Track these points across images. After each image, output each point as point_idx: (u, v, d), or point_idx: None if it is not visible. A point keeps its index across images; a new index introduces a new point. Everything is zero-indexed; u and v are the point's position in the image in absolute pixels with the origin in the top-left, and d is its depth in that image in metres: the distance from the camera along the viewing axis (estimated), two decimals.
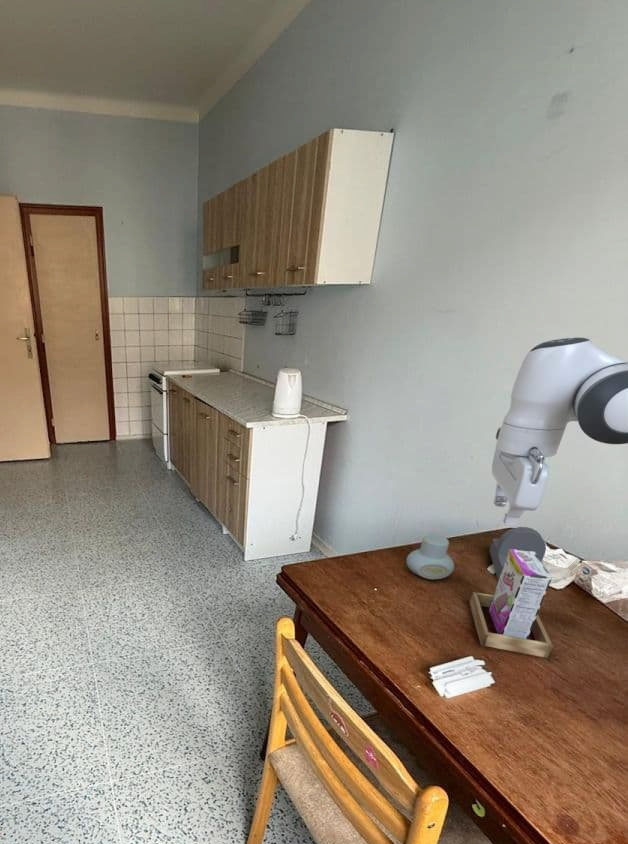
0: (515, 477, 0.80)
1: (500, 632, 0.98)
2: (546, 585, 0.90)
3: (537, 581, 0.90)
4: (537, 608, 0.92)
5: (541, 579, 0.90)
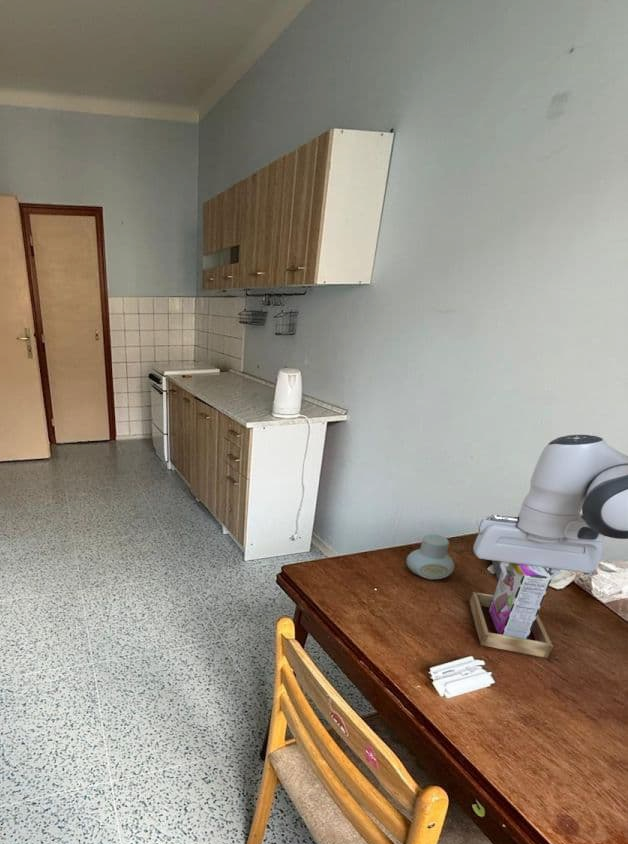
0: None
1: (500, 632, 0.98)
2: (546, 585, 0.90)
3: (537, 581, 0.90)
4: (537, 608, 0.92)
5: (542, 579, 0.90)
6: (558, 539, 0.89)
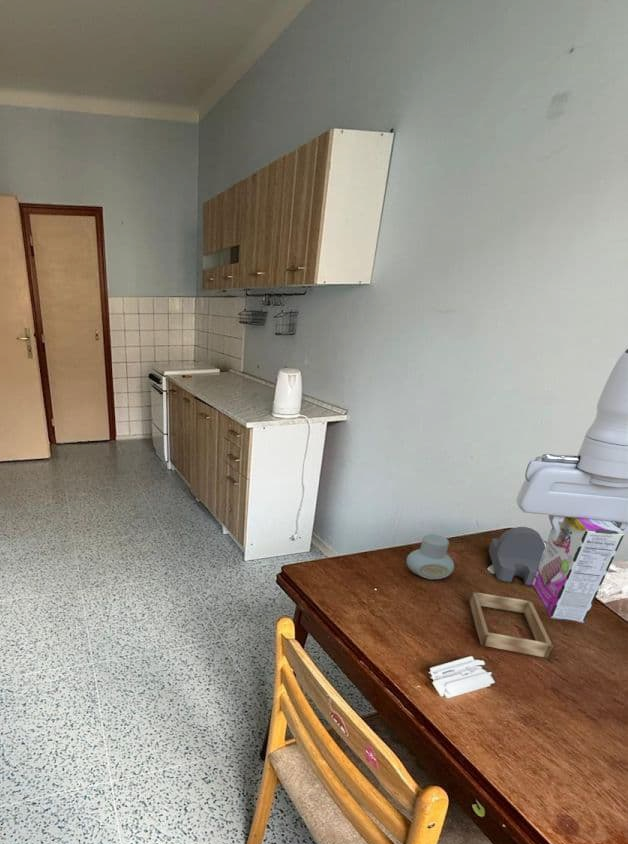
0: None
1: (551, 608, 0.77)
2: (617, 543, 0.69)
3: (605, 538, 0.69)
4: (603, 574, 0.71)
5: (611, 535, 0.69)
6: None
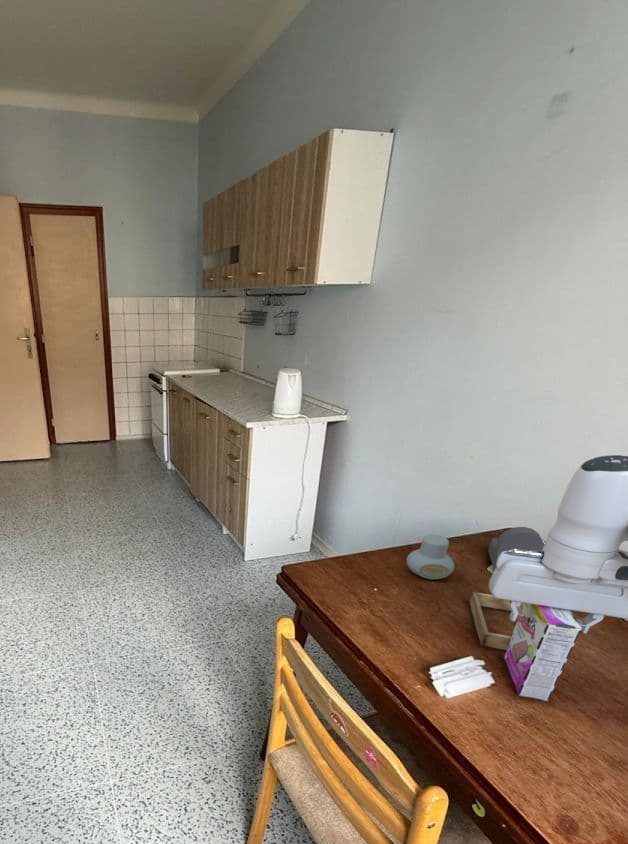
0: None
1: (519, 686, 0.84)
2: (575, 636, 0.76)
3: (564, 631, 0.76)
4: (563, 662, 0.79)
5: (569, 630, 0.76)
6: (591, 579, 0.75)
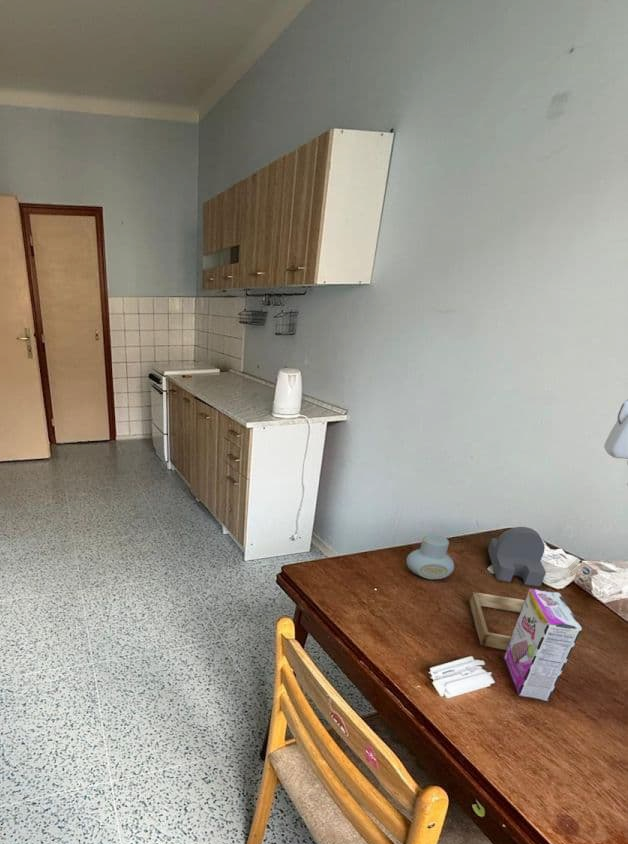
0: None
1: (519, 686, 0.84)
2: (575, 636, 0.76)
3: (565, 631, 0.76)
4: (563, 662, 0.79)
5: (570, 630, 0.76)
6: None
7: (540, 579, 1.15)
